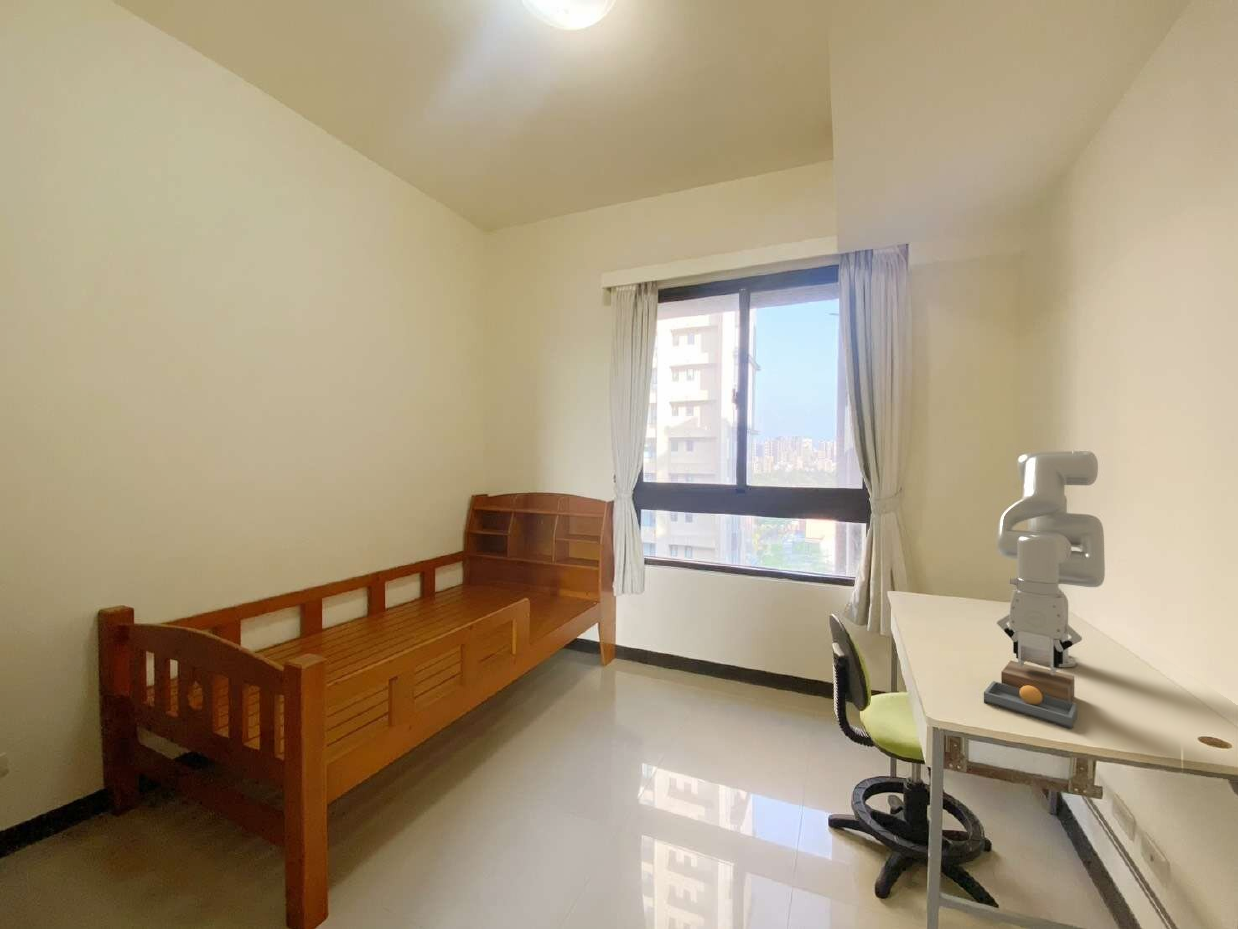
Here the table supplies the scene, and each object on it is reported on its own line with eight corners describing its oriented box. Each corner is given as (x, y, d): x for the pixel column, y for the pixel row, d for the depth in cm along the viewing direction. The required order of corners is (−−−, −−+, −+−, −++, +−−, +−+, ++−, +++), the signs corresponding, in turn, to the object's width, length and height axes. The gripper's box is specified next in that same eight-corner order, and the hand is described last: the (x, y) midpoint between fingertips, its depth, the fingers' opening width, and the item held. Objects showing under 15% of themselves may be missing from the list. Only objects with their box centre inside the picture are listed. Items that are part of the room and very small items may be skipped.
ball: (1018, 704, 111) (1022, 693, 114) (1041, 711, 108) (1044, 699, 111) (1017, 690, 110) (1020, 679, 113) (1039, 697, 107) (1042, 685, 110)
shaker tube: (1023, 660, 121) (1023, 624, 121) (1057, 668, 116) (1057, 631, 116) (1017, 667, 117) (1017, 630, 117) (1053, 676, 112) (1052, 637, 112)
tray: (993, 690, 118) (993, 680, 118) (1077, 714, 107) (1077, 703, 107) (983, 702, 112) (983, 692, 112) (1071, 729, 101) (1071, 717, 101)
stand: (1010, 680, 124) (1010, 660, 124) (1074, 697, 115) (1074, 676, 115) (1001, 692, 117) (1001, 671, 117) (1068, 711, 108) (1068, 689, 108)
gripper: (989, 583, 120) (989, 655, 120) (1085, 597, 107) (1085, 678, 107) (996, 578, 125) (996, 647, 125) (1089, 591, 112) (1089, 668, 112)
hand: (1037, 661), depth 116 cm, fingers closed on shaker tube, 6 cm apart
